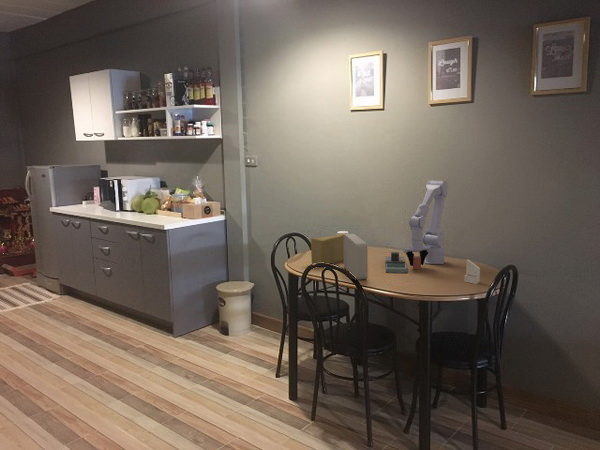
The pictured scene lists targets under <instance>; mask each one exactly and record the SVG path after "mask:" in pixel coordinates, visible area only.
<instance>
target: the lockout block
mask: <svg viewBox="0 0 600 450" xmlns="http://www.w3.org/2000/svg"><path fill="white" fill-rule="evenodd" d="M412 270H422V265H421V256H420V255H414V258H413V266H412Z"/></svg>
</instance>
